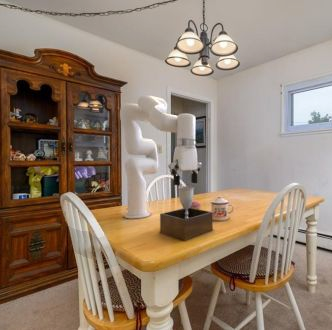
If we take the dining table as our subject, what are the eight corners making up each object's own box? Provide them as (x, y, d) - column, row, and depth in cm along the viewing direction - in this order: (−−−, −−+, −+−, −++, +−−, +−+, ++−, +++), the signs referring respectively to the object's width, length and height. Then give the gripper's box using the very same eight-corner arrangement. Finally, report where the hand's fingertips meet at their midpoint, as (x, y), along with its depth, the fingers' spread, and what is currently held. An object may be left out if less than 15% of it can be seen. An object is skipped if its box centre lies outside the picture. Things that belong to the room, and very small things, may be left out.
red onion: (191, 217, 118) (191, 194, 117) (181, 214, 123) (181, 193, 123) (203, 214, 124) (203, 193, 124) (194, 211, 130) (194, 191, 129)
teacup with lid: (211, 221, 111) (211, 198, 110) (210, 216, 120) (210, 194, 119) (235, 220, 112) (235, 197, 112) (232, 215, 121) (232, 194, 121)
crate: (160, 232, 94) (160, 213, 94) (188, 223, 106) (188, 207, 106) (184, 240, 85) (184, 220, 84) (212, 230, 97) (212, 212, 97)
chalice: (190, 232, 91) (190, 188, 91) (175, 231, 93) (175, 188, 92) (197, 226, 98) (197, 186, 98) (182, 225, 100) (182, 185, 99)
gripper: (195, 144, 103) (194, 181, 104) (163, 142, 90) (163, 185, 90) (206, 144, 99) (206, 183, 100) (175, 142, 85) (175, 187, 86)
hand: (185, 183), depth 95 cm, fingers open, 9 cm apart
